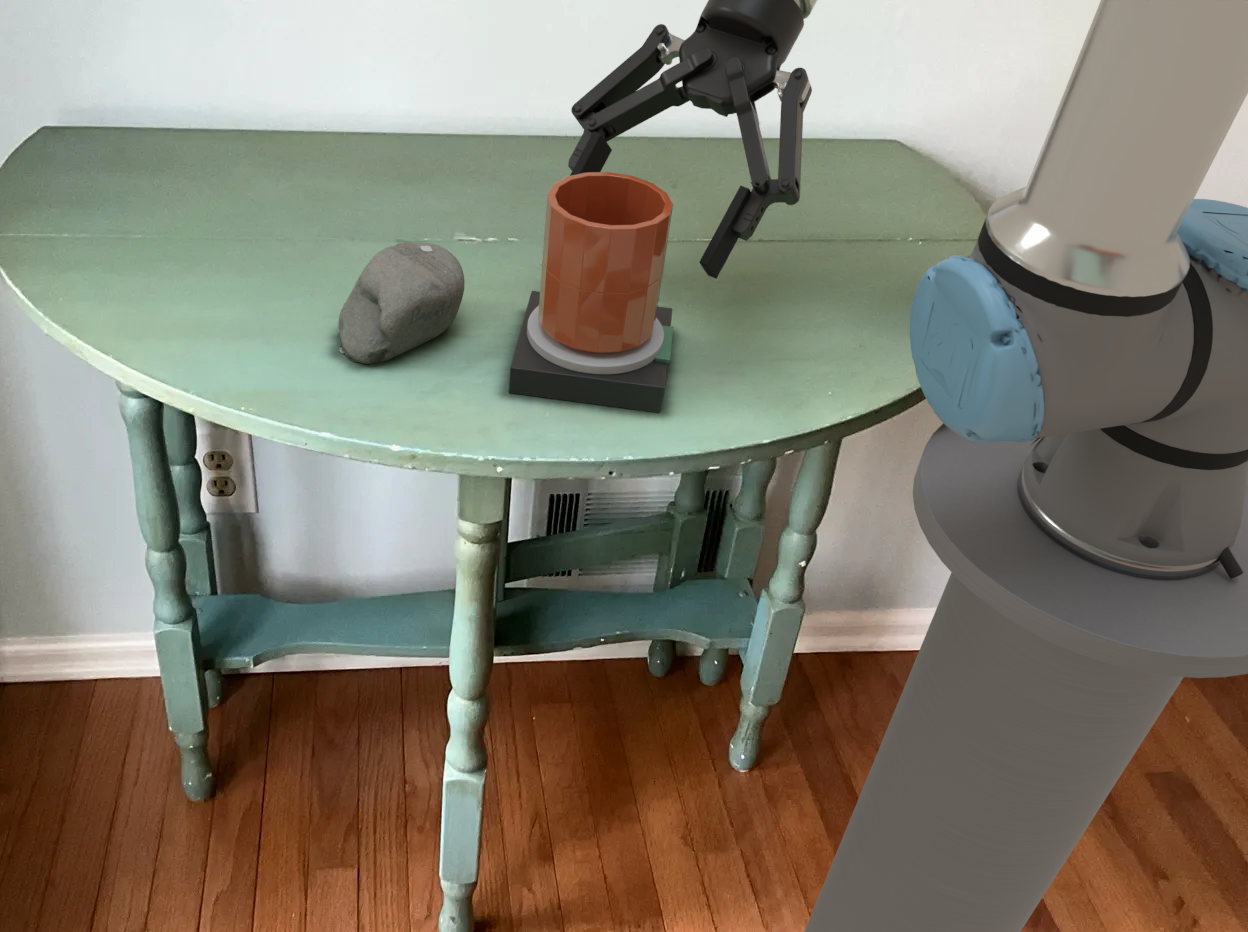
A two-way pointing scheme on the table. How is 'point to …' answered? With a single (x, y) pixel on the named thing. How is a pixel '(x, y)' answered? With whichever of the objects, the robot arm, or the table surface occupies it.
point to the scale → (591, 367)
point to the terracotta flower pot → (603, 260)
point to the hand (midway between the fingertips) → (633, 241)
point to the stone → (400, 301)
